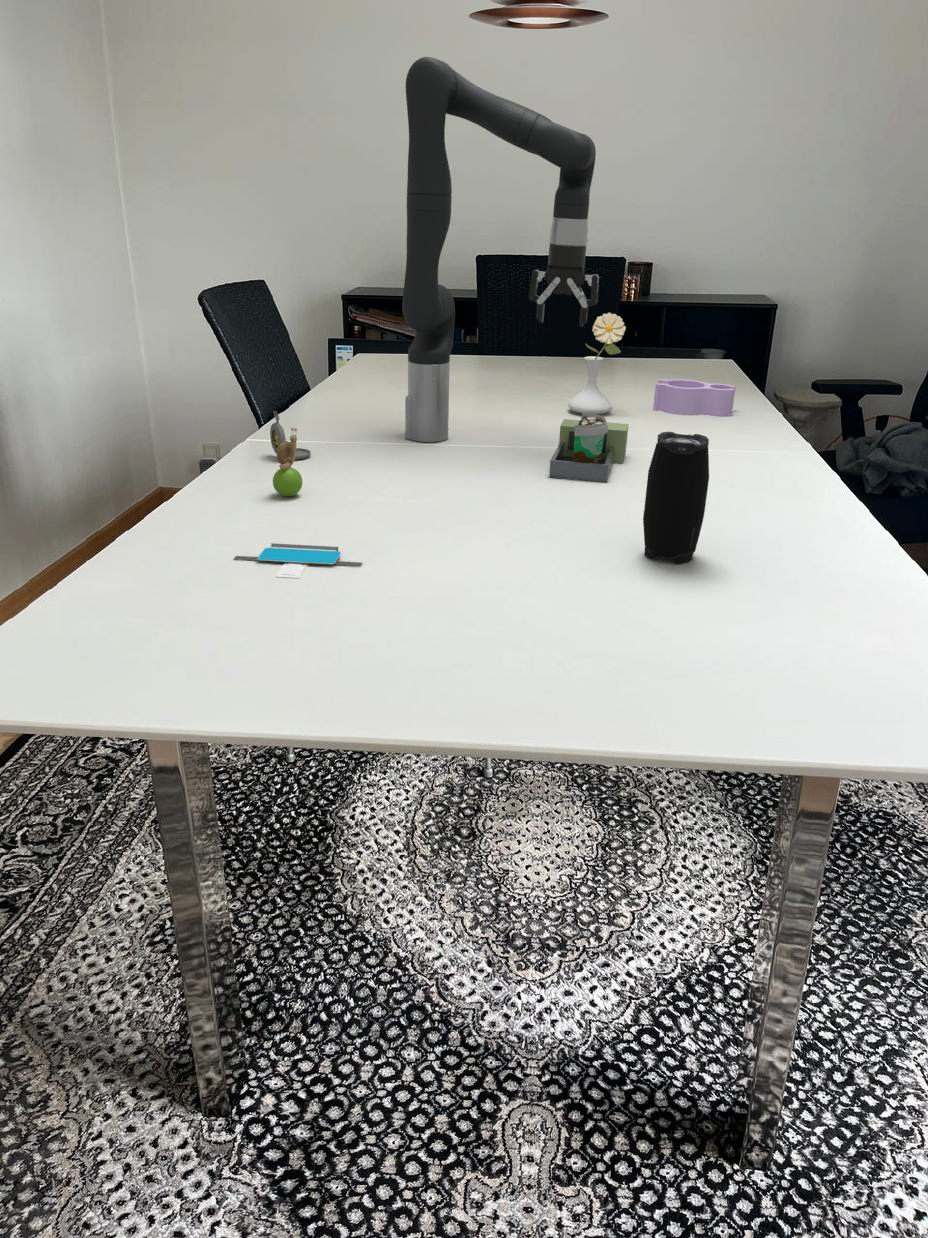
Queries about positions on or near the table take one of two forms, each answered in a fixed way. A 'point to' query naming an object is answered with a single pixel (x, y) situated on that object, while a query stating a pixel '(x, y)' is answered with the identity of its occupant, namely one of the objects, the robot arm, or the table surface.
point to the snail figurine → (287, 469)
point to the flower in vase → (591, 397)
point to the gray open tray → (580, 467)
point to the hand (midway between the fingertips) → (561, 324)
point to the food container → (589, 438)
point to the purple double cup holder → (693, 398)
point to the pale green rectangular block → (611, 438)
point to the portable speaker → (676, 496)
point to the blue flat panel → (298, 558)
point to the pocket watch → (284, 439)
